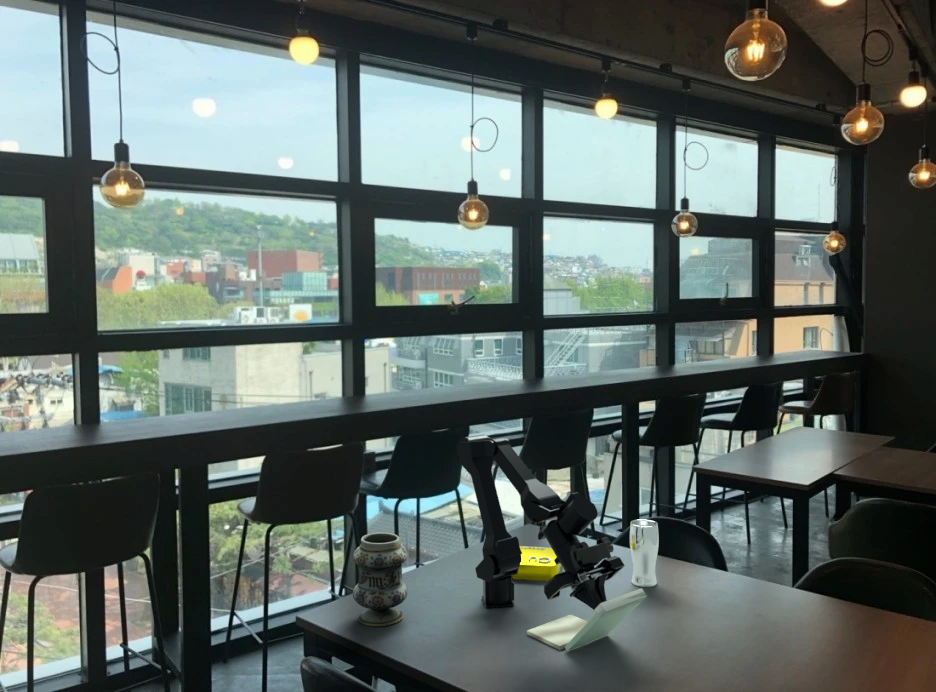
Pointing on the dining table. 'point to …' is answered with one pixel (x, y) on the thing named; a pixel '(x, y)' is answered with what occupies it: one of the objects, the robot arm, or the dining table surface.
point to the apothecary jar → (380, 578)
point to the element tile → (537, 564)
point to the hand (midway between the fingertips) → (607, 615)
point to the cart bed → (558, 631)
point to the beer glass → (644, 551)
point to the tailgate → (607, 618)
